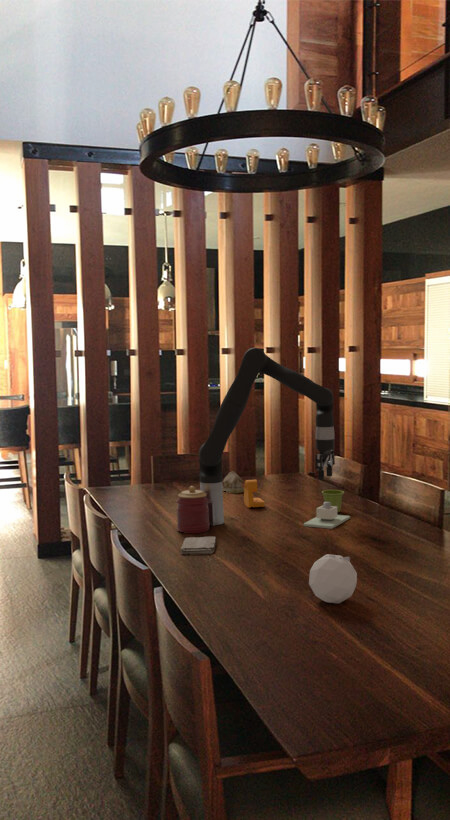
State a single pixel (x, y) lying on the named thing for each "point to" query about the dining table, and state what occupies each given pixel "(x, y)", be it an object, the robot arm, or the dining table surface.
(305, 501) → the dining table surface
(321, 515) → the white hollow square block
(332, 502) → the plant pot
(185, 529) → the canister
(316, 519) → the stand
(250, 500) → the bracket
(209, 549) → the washcloth
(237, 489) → the ceramic model
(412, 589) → the dining table surface
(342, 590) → the geodesic sphere
